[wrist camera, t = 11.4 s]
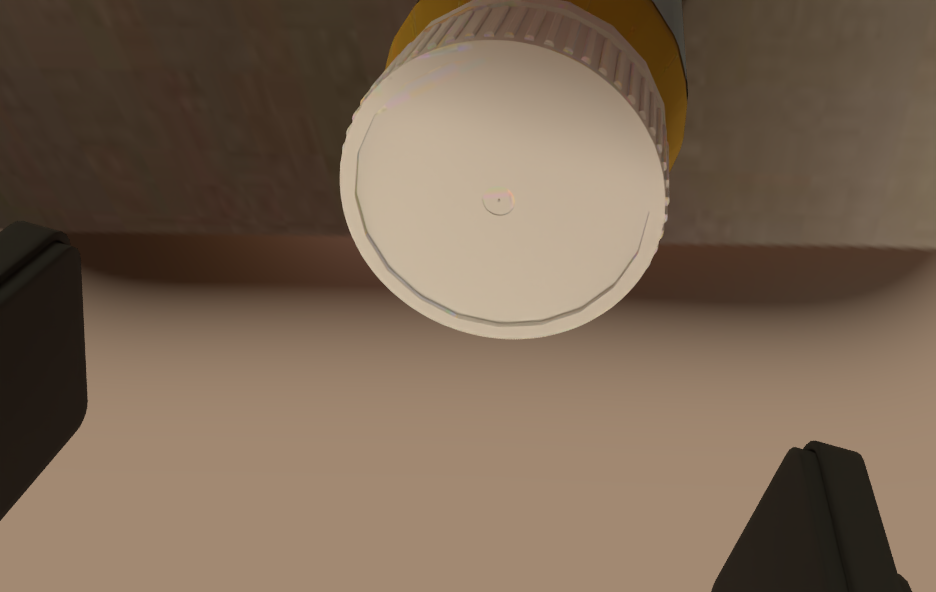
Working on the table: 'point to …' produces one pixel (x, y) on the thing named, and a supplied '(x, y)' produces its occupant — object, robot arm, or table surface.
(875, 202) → the table surface
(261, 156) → the table surface
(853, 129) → the table surface
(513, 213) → the bottle
